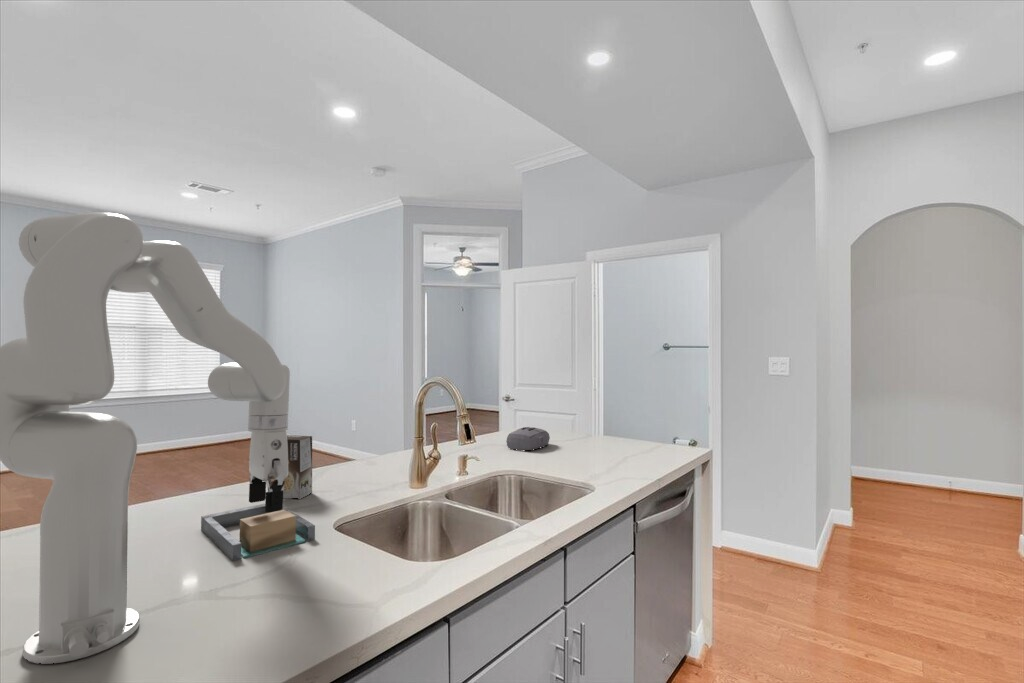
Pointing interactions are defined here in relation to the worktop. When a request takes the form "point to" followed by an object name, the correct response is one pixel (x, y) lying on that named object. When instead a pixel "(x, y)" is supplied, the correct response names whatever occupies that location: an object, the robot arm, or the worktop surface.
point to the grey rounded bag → (527, 438)
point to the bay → (218, 521)
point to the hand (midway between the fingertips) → (265, 506)
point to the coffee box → (298, 467)
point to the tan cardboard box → (267, 530)
